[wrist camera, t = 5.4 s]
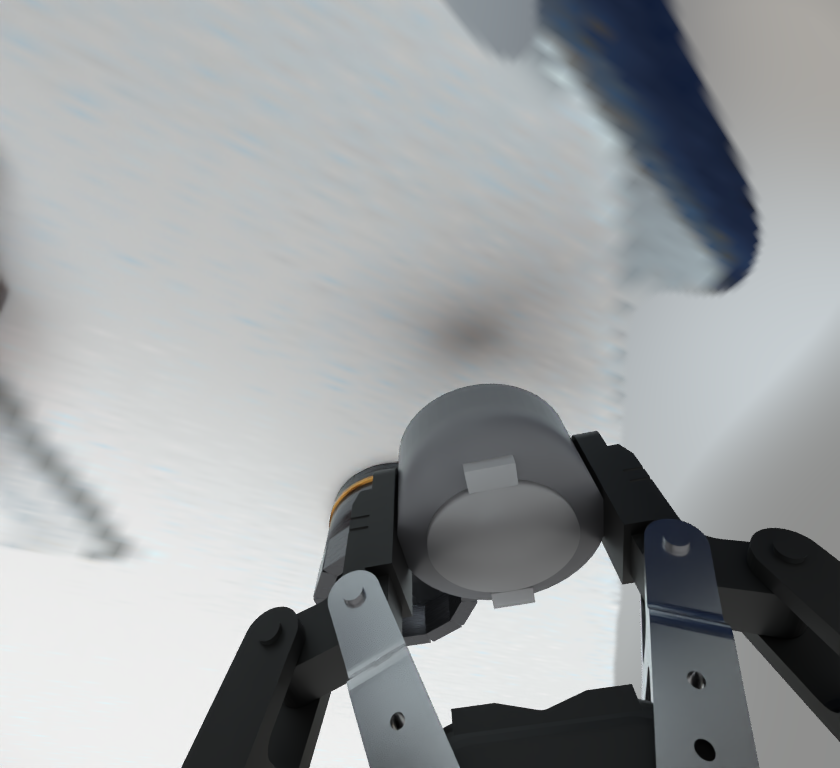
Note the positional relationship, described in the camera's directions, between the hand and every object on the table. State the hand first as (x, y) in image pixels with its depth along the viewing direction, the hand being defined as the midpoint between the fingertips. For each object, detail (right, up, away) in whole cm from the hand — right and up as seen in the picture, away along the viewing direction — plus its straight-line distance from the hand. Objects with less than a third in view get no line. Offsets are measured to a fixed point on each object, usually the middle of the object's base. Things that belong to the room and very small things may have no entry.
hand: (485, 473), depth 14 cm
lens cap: (0, 0, +1) cm, 1 cm away
